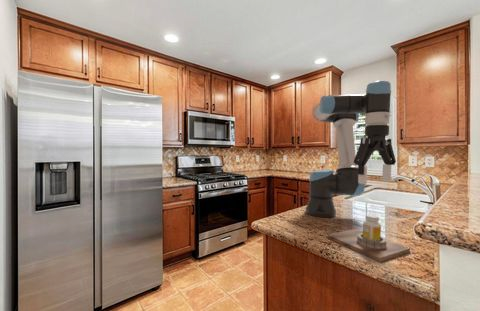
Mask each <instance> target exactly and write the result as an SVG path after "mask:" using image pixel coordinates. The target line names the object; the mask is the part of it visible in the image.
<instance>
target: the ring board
mask: <svg viewBox="0 0 480 311" xmlns="http://www.w3.org/2000/svg"><path fill="white" fill-rule="evenodd" d="M327 238H328V239H329V240H331V241H333V242H335V243H338V244H340V245H342V246H344V247H347V248H349V249H351V250H353V251H355V252H357V253H360V254H361V255H364V256H367V257H369V258H371V259H373V260H375V261H377V262H383V261H387V260H389V259H392V258H393V259H394V258H395V257H399V256H403V255H405V254H408V253H410V252H411V248H410V247H407V246H405V245H402V244H399V243H396V242H393V241H391V240H388V239H387V238H385V237H383V236H381V237H380V241H370V240H367V239H364V238H363V230H360V229H357V228H353V229H348V230H345V231H344V230H342V231H338V232H333V233H330V234H328V233H327Z"/></svg>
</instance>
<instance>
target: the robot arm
mask: <svg viewBox="0 0 480 311" xmlns="http://www.w3.org/2000/svg"><path fill="white" fill-rule="evenodd" d="M391 88H392V86H391V83H390V82H389V81H387V80H377V81H373V82H370V83H368V84H367V86H366V90H365V92H366V93H364V94H361V93H359V94H337V95H336V94H329V95H328V94H327V95H322V96H321V97H320V100H319V102H318V103H317V104H316V105H315V106H313V108H312V115H313V118H314V119H315V120H317V121H319V122H322V123H332V124H333V125H332V126H333V127H334V128H335V130H336V142H337V143H336V144H337V157H338V158H337V159H338V167H337V168H336V169H335V170H336V171H334V170H333V169H317V170H313V171H311V172H310V174H309V197H308V198H309V199H308V202H307V204H306V207H305V213H306V214H307V215H309V216H313V217H319V218H333V217H334V218H335V217H336V216H337V210H336V208H335V204H334V200H333V199H334V196H333V195H335V196H337V195H338V196H351V197H353V196H361V195H363V193H364V191H365V188H366V185H367V184H368V183H367V181H368V166H367V163H368V162H369V160H370V158H371V156H372V155H373V153H374V152H375V151H376V152H378V153H379V155H380V157H381V159H382V162H383V163H384V164H382V176H381V177H382V179H381V181H382V182H386V183H391V182H392V178H391V176H392V165H393V166H395V165H396V164H395V163H396V162H397V159H396V156H395V153H394V150H393V145H392V138H386V136H387V137H388V136H389V135H390V125H389V124H390V117H391V115H390V112H391V111H390V110H391V93H392V89H391ZM360 115H364V116H365V121H364V125H365V127H364V135H365V136H366V137H361V138H360V144H359V146H358V148H357V150H356V147H355V146H356V144H355V134H354V126H355V125H356V124H357V123H356V122H357V121H359V117H360ZM356 151H357V152H356Z"/></svg>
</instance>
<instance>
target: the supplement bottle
mask: <svg viewBox="0 0 480 311" xmlns="http://www.w3.org/2000/svg"><path fill="white" fill-rule="evenodd" d="M379 221H380V216H379V215H376V214H370V213H369V214H365V220H364V221H363V223H362V231H363V238H364V239H367V240H370V241H380V237H381V235H382V225H381V222H379Z"/></svg>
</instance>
